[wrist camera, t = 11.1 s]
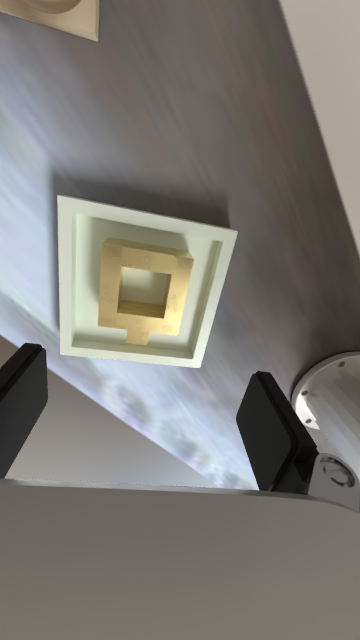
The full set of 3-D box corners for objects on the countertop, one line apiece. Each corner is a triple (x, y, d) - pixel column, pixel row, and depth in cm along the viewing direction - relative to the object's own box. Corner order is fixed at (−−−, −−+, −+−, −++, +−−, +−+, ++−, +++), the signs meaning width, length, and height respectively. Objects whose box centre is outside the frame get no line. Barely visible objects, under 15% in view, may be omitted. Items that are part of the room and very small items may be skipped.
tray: (230, 228, 22) (238, 231, 20) (196, 356, 28) (199, 368, 26) (66, 195, 20) (57, 195, 18) (67, 342, 26) (60, 354, 24)
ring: (189, 251, 22) (194, 258, 19) (171, 337, 26) (173, 353, 23) (108, 236, 21) (101, 243, 18) (102, 329, 25) (96, 345, 22)
